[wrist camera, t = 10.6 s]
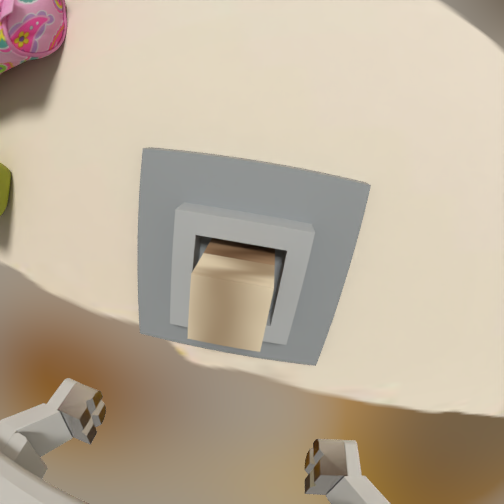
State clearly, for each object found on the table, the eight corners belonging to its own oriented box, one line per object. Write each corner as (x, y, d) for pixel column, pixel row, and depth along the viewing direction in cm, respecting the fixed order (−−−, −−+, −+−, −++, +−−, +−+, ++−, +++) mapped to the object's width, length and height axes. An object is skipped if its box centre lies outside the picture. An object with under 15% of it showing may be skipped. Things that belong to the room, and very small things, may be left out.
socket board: (365, 182, 21) (379, 190, 18) (314, 356, 27) (317, 381, 24) (149, 147, 21) (130, 150, 18) (144, 325, 27) (131, 346, 24)
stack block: (275, 247, 22) (274, 288, 16) (264, 301, 24) (260, 352, 18) (212, 237, 22) (191, 273, 16) (206, 291, 24) (187, 338, 18)
